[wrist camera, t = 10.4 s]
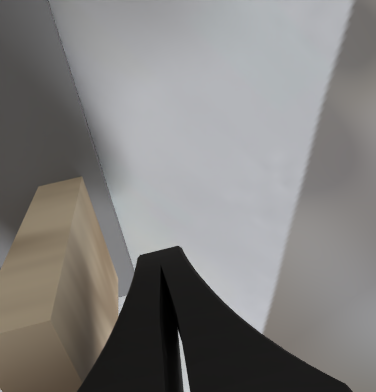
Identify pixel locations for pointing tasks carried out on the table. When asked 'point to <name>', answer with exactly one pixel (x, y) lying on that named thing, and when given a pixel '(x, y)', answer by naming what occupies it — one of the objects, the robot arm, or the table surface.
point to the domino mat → (46, 129)
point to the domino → (56, 293)
